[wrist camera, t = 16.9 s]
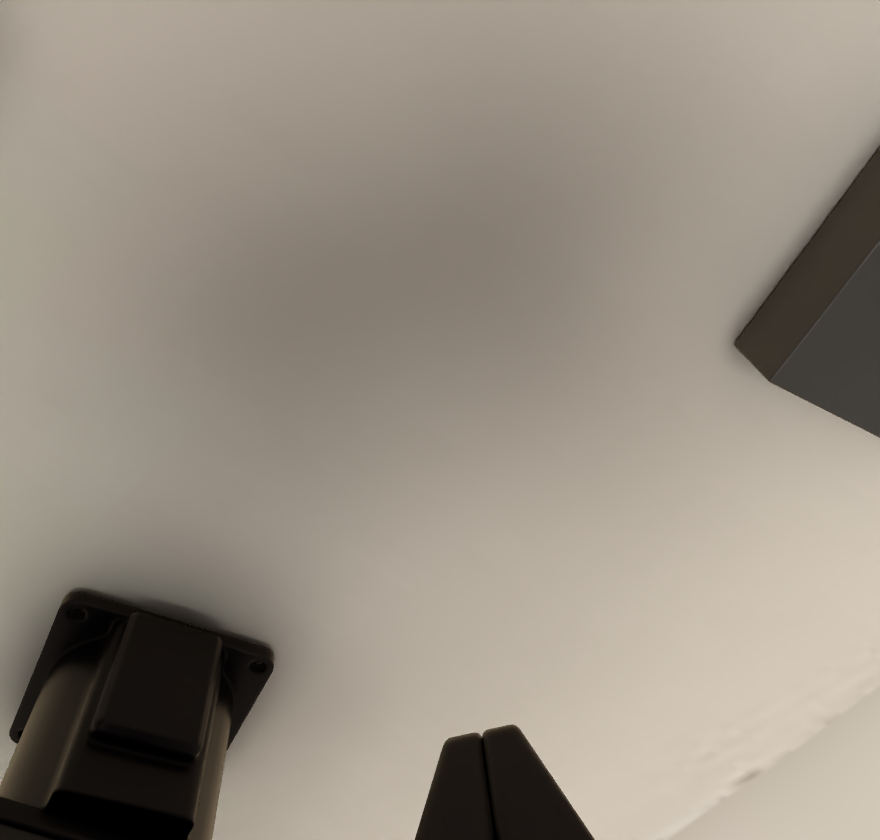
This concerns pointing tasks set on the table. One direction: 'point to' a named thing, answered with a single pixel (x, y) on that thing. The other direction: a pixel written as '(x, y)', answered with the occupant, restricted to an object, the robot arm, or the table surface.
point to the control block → (829, 313)
